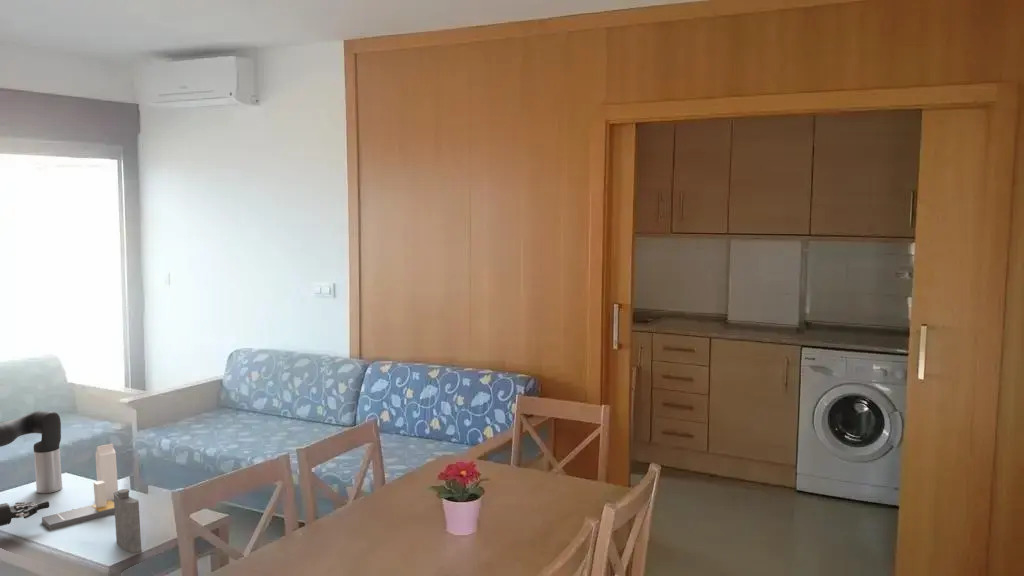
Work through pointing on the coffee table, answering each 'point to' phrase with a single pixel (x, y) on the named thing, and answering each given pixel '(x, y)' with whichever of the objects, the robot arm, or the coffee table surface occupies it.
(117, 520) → the hip flask
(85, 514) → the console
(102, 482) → the block
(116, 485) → the milk
